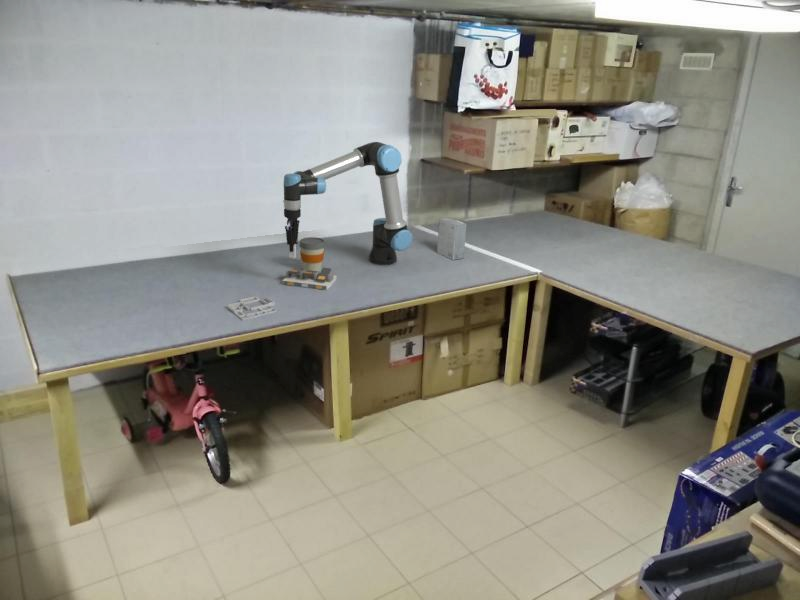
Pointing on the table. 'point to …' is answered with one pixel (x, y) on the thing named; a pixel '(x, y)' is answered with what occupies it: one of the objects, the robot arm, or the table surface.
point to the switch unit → (308, 280)
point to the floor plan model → (257, 314)
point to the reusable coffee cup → (312, 253)
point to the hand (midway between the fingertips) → (292, 257)
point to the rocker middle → (309, 273)
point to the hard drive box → (451, 238)
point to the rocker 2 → (323, 274)
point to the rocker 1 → (295, 271)
